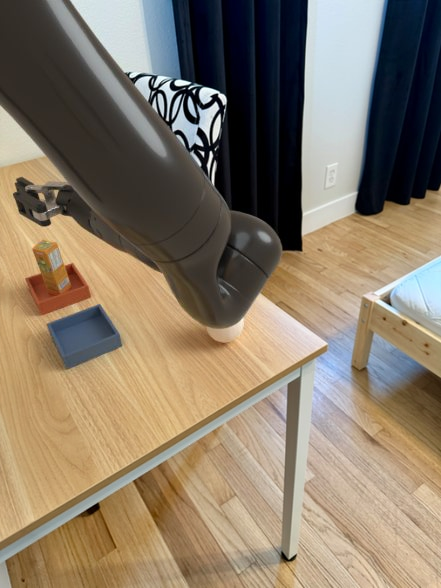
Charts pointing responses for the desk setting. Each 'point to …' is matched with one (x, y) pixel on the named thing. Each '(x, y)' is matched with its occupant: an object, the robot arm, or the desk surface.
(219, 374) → the desk surface
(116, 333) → the blue tray
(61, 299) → the terracotta tray
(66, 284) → the supplement box
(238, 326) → the egg
